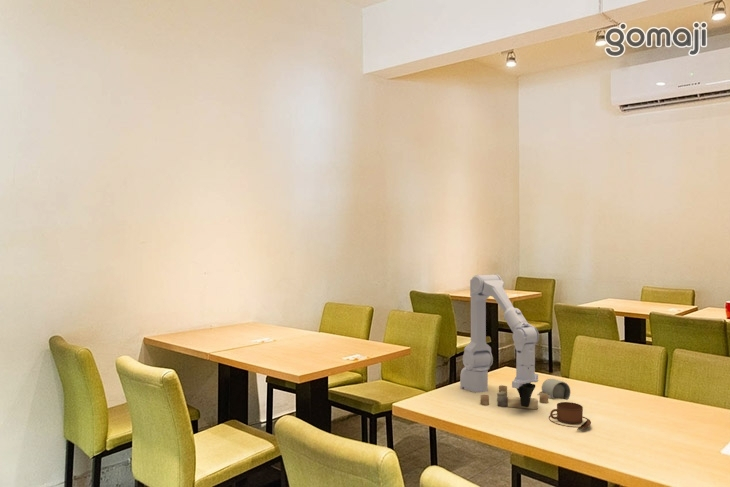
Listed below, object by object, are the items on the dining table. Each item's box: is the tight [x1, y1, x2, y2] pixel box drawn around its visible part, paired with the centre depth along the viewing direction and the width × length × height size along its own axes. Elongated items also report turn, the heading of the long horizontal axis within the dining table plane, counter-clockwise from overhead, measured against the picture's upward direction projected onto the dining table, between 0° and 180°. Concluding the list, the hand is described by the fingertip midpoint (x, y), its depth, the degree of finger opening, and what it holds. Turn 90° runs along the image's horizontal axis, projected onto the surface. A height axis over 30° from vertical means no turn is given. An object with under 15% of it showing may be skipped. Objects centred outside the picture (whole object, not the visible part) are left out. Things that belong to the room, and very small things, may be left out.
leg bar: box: [497, 395, 539, 410], centre depth 177 cm, size 13×3×3 cm, turn 77°
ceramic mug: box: [537, 378, 571, 401], centre depth 189 cm, size 10×8×7 cm
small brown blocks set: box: [479, 384, 549, 407], centre depth 181 cm, size 18×18×4 cm
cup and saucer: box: [548, 401, 592, 431], centre depth 164 cm, size 12×12×6 cm
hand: (525, 406), depth 174 cm, fingers closed, pressing on leg bar
